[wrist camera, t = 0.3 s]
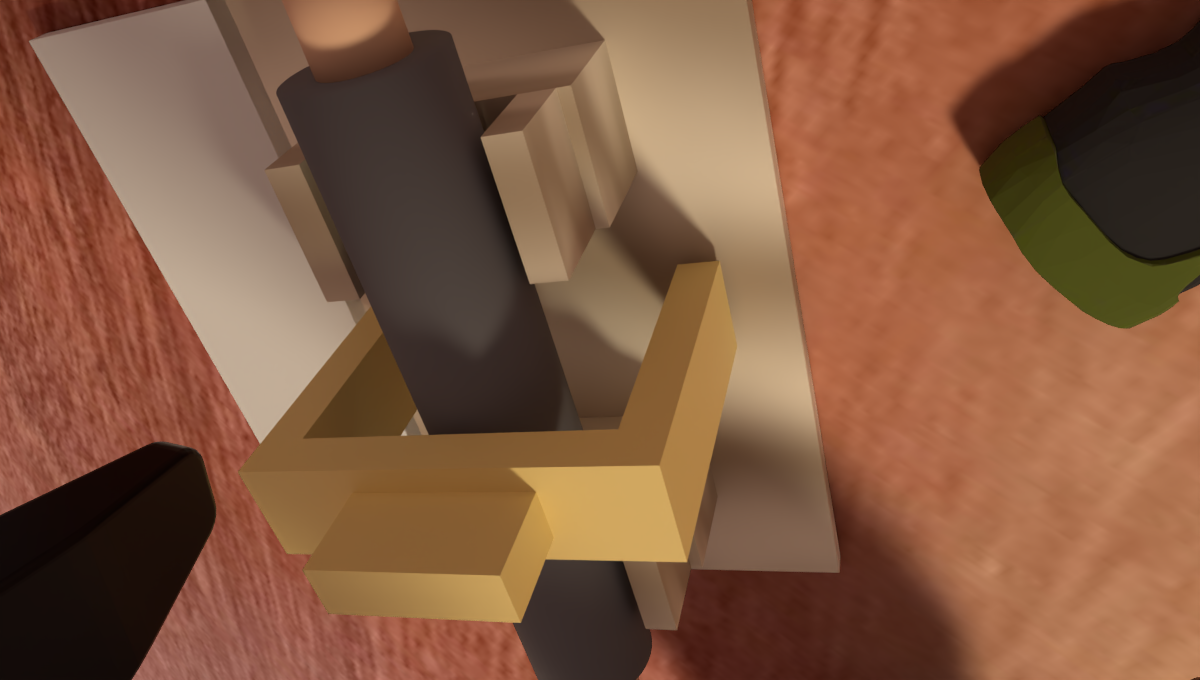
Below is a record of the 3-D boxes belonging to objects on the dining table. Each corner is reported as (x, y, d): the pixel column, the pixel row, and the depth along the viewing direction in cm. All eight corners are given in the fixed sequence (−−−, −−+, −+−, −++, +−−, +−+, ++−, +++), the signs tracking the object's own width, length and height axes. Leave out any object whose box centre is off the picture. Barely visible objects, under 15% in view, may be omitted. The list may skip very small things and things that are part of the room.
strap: (737, 345, 23) (665, 652, 16) (414, 365, 26) (235, 628, 19) (719, 260, 21) (634, 553, 14) (382, 291, 25) (179, 544, 18)
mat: (481, 539, 31) (475, 553, 30) (329, 537, 33) (321, 550, 32) (237, -13, 21) (222, -5, 21) (45, 33, 24) (28, 40, 23)
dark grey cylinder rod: (674, 642, 26) (651, 746, 24) (569, 637, 27) (536, 735, 25) (448, -74, 16) (367, -24, 14) (296, -38, 17) (195, 15, 15)
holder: (840, 556, 27) (830, 715, 23) (473, 550, 31) (409, 683, 27) (694, -355, 16) (623, -357, 12) (144, -176, 20) (-51, -131, 16)
